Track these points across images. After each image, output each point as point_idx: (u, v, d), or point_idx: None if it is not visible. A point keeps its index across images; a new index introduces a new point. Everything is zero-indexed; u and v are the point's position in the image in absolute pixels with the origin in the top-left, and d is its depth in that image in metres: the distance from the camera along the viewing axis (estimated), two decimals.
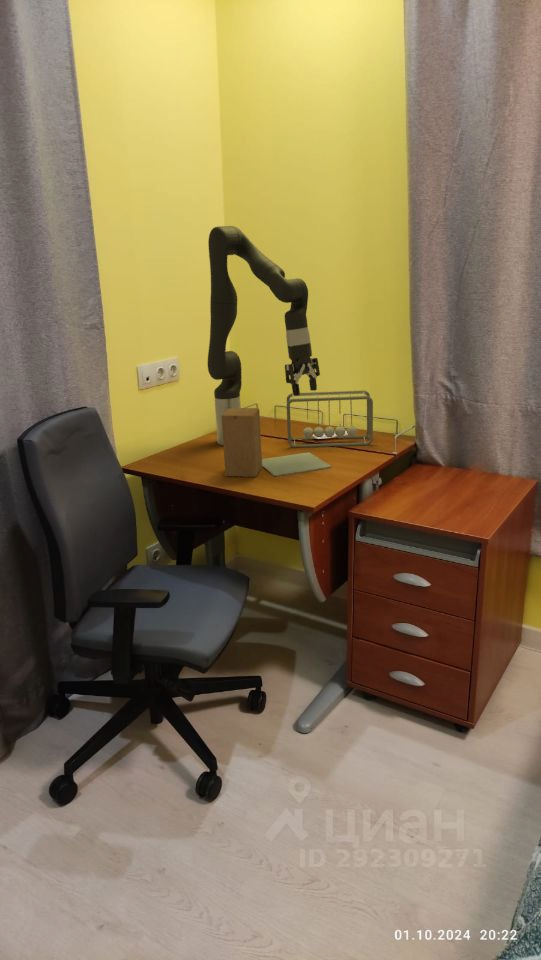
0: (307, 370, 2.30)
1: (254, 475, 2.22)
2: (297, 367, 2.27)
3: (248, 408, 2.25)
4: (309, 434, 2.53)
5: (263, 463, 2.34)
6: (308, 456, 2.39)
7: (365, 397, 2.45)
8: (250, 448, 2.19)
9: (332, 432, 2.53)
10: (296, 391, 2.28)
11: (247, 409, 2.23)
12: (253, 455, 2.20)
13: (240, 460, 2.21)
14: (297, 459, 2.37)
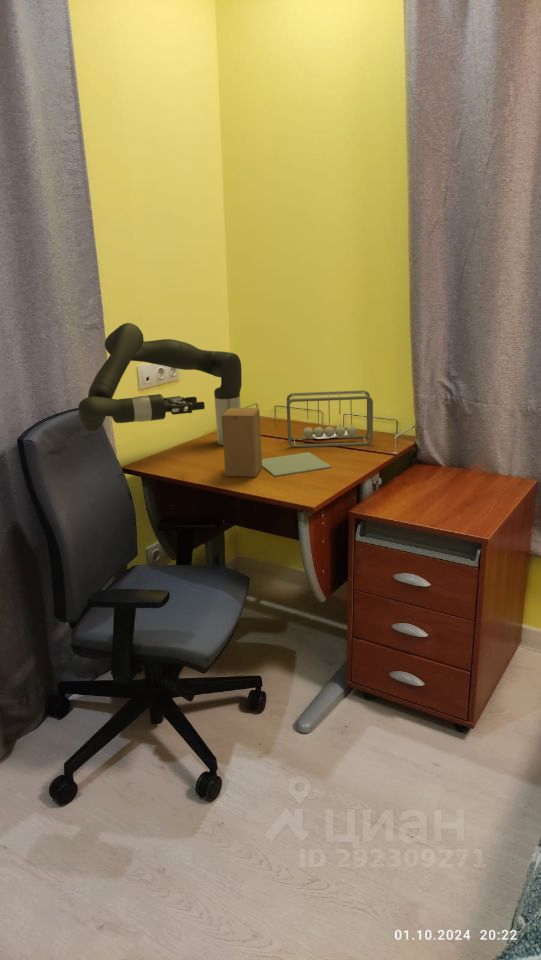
0: None
1: (254, 475, 2.22)
2: None
3: (248, 408, 2.25)
4: (309, 434, 2.53)
5: (263, 463, 2.34)
6: (308, 456, 2.39)
7: (365, 397, 2.45)
8: (250, 448, 2.19)
9: (332, 432, 2.53)
10: None
11: (247, 409, 2.23)
12: (253, 455, 2.20)
13: (240, 460, 2.21)
14: (297, 459, 2.37)
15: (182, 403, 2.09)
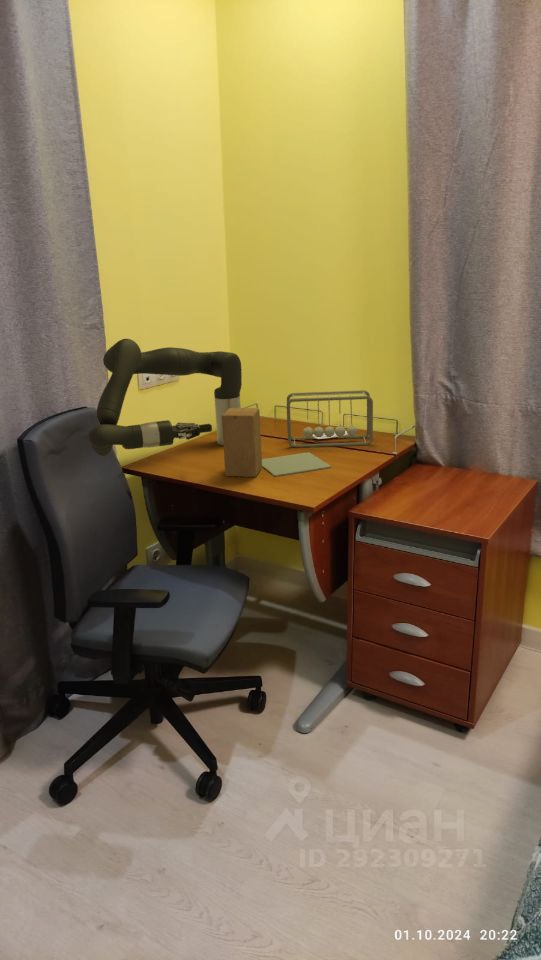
0: None
1: (254, 475, 2.22)
2: None
3: (248, 408, 2.25)
4: (309, 434, 2.54)
5: (263, 463, 2.34)
6: (308, 456, 2.39)
7: (365, 397, 2.45)
8: (250, 448, 2.19)
9: (332, 432, 2.53)
10: None
11: (247, 409, 2.23)
12: (253, 455, 2.20)
13: (240, 460, 2.21)
14: (297, 459, 2.37)
15: (191, 427, 2.15)
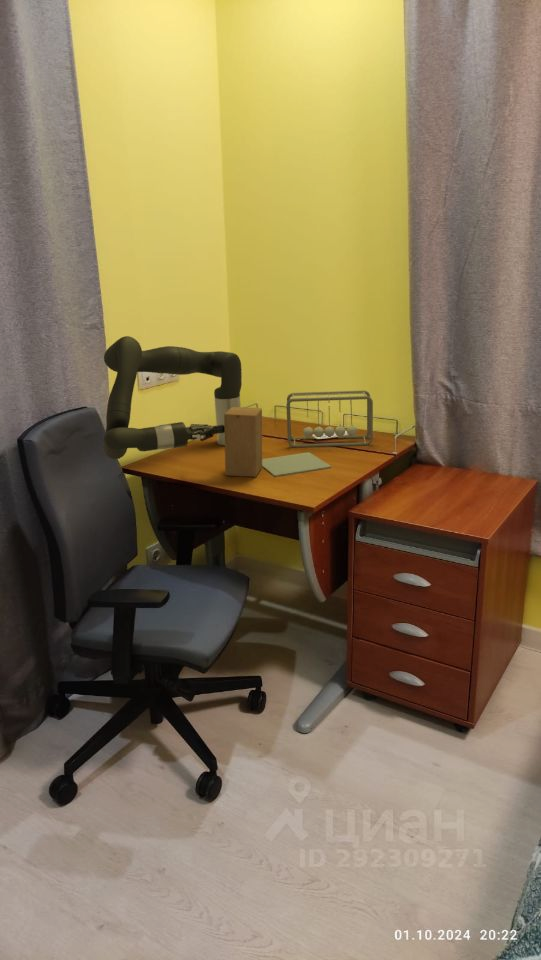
0: None
1: (254, 475, 2.22)
2: None
3: (251, 408, 2.24)
4: (309, 434, 2.54)
5: (263, 463, 2.34)
6: (308, 456, 2.39)
7: (365, 397, 2.45)
8: (252, 447, 2.19)
9: (332, 432, 2.53)
10: None
11: (250, 409, 2.23)
12: (254, 455, 2.20)
13: (241, 460, 2.21)
14: (297, 459, 2.37)
15: (205, 428, 2.17)
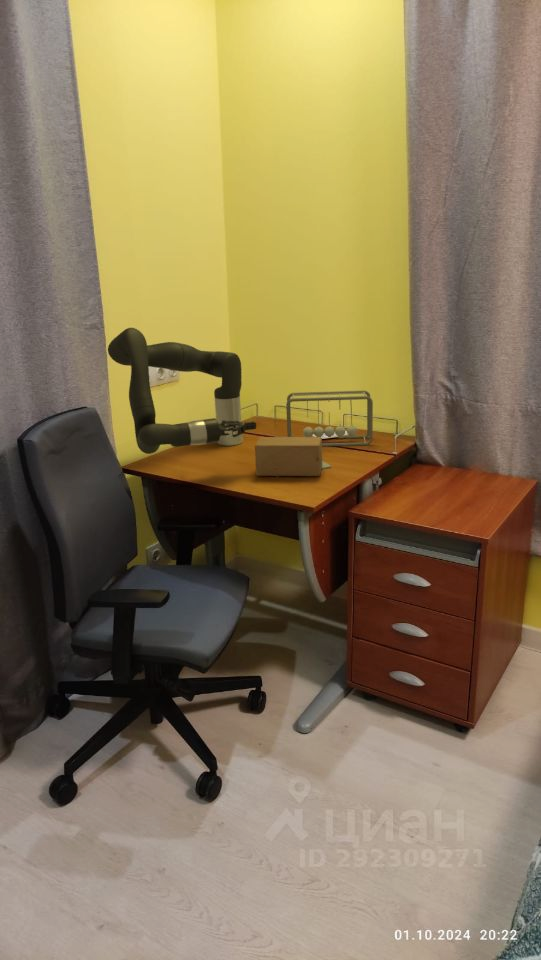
0: None
1: (258, 474, 2.21)
2: None
3: None
4: (309, 434, 2.54)
5: None
6: None
7: (365, 397, 2.45)
8: (286, 472, 2.20)
9: (332, 432, 2.53)
10: None
11: (321, 458, 2.25)
12: (279, 474, 2.20)
13: (272, 462, 2.19)
14: None
15: (237, 425, 2.20)
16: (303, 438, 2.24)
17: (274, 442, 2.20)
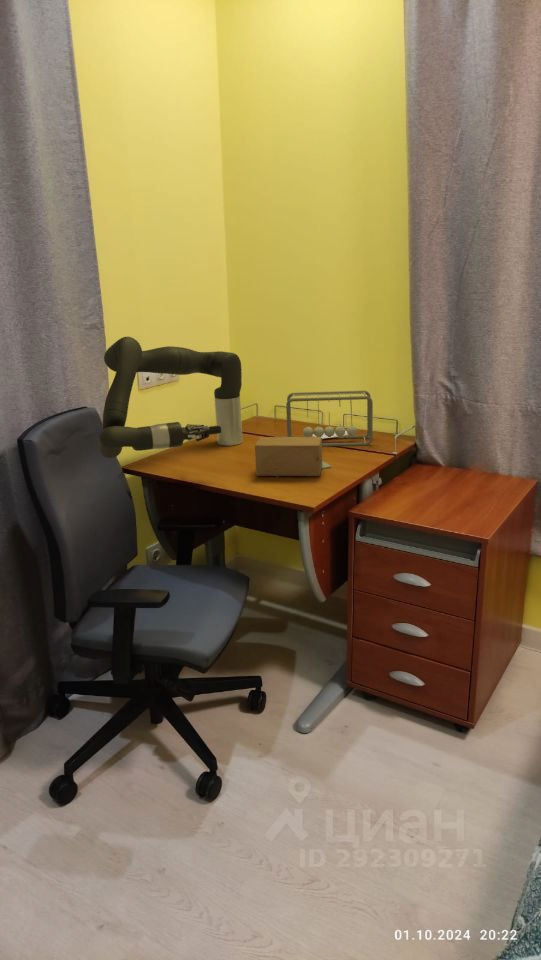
0: None
1: (258, 474, 2.21)
2: None
3: None
4: (309, 434, 2.54)
5: None
6: None
7: (365, 397, 2.45)
8: (286, 472, 2.20)
9: (332, 432, 2.53)
10: None
11: (321, 458, 2.25)
12: (279, 474, 2.20)
13: (272, 462, 2.19)
14: None
15: (201, 429, 2.16)
16: (303, 438, 2.24)
17: (274, 442, 2.20)
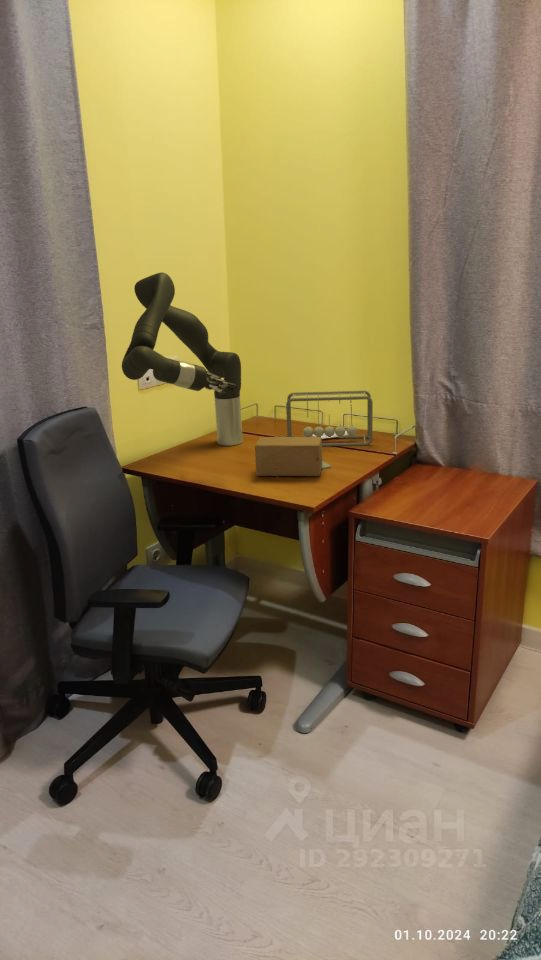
0: None
1: (258, 474, 2.21)
2: None
3: None
4: (309, 433, 2.54)
5: None
6: None
7: (364, 397, 2.45)
8: (286, 472, 2.20)
9: (332, 432, 2.54)
10: None
11: (321, 458, 2.25)
12: (279, 474, 2.20)
13: (272, 462, 2.19)
14: None
15: (221, 382, 2.16)
16: (303, 438, 2.24)
17: (274, 442, 2.20)
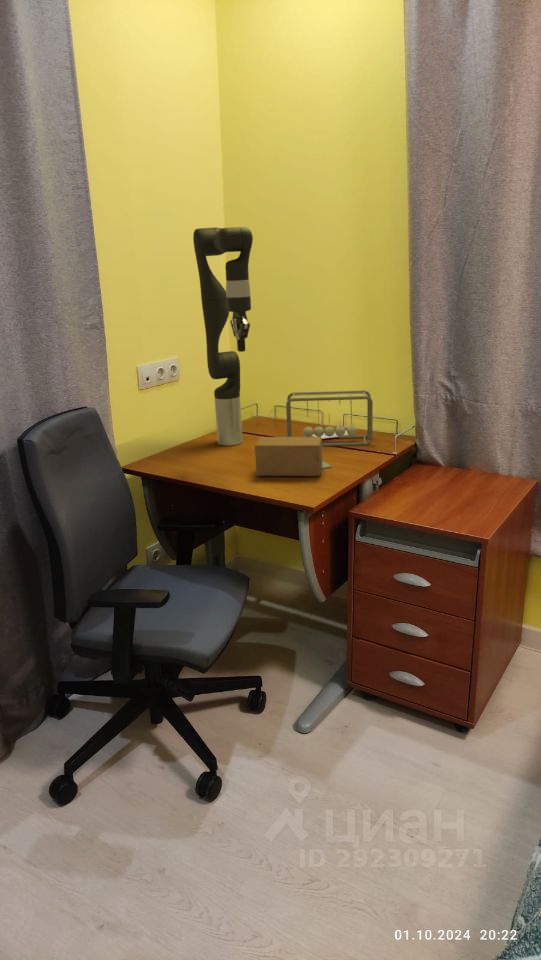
0: None
1: (258, 474, 2.21)
2: None
3: None
4: (309, 433, 2.54)
5: None
6: None
7: (365, 397, 2.45)
8: (286, 472, 2.20)
9: (332, 432, 2.54)
10: None
11: (321, 458, 2.25)
12: (279, 474, 2.20)
13: (272, 462, 2.19)
14: None
15: None
16: (303, 438, 2.24)
17: (274, 442, 2.20)
